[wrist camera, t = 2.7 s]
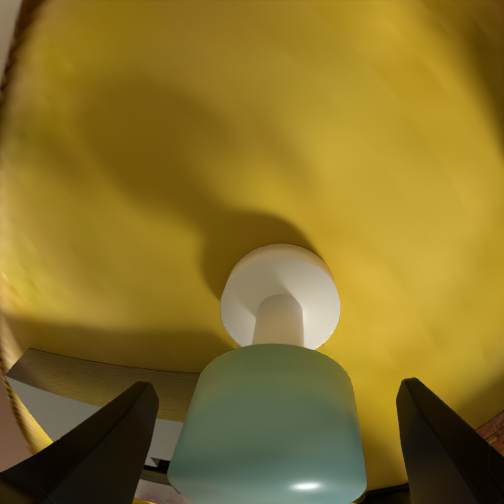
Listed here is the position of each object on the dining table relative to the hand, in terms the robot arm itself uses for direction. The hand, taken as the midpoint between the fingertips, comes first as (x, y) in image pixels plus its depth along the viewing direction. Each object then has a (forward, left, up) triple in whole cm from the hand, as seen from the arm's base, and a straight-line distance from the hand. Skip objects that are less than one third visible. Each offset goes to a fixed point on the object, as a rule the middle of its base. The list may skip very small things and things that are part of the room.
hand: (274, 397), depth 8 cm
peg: (0, 0, -6) cm, 6 cm away
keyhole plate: (+10, +13, -6) cm, 17 cm away
